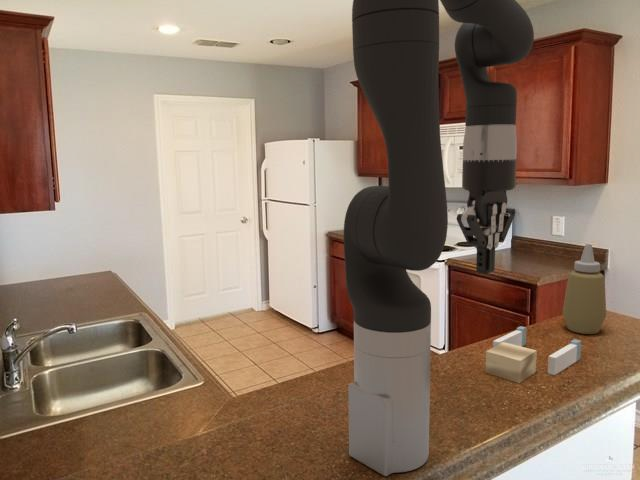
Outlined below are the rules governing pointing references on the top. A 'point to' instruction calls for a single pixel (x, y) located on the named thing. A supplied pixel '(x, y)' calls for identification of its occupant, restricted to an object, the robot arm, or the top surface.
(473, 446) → the top surface
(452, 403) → the top surface
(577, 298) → the squeeze bottle
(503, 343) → the maple block
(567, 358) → the corridor
